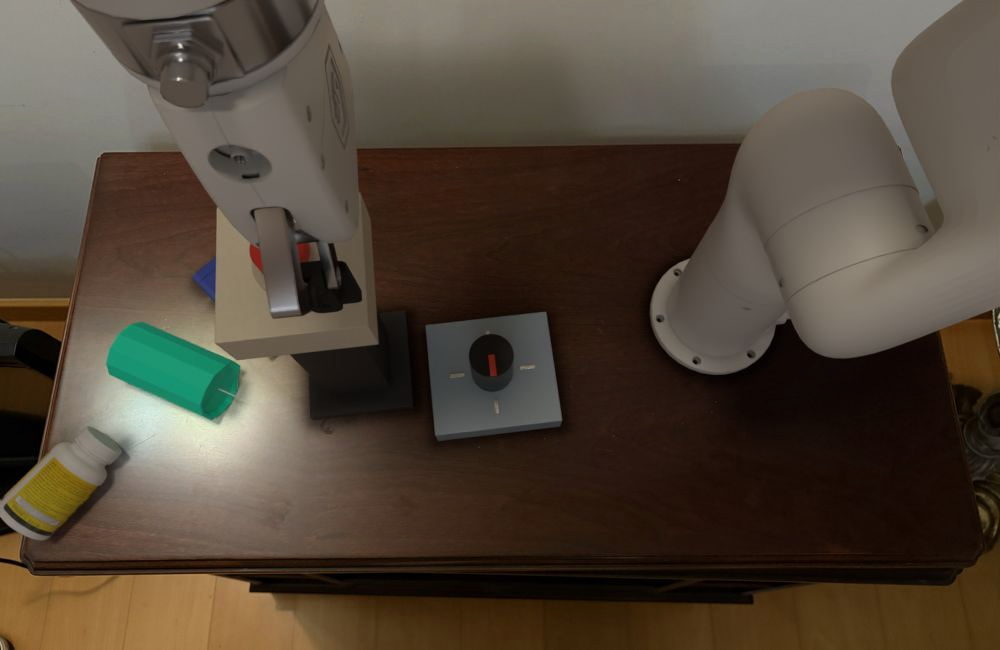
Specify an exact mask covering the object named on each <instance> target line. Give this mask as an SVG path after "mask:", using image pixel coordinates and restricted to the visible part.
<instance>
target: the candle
mask: <svg viewBox="0 0 1000 650" xmlns="http://www.w3.org/2000/svg"><path fill="white" fill-rule="evenodd" d="M105 365H106V369H107V373H108V375H109V376H111V377H114V378H115V379H118V380H120V381H122V382H124V383H127V384H129V385H131V386H134V388H135V387H136V388H138V389H140V390H142V391H144V392H147V393H149V394H151V395H154V396H156V397H157V398H160V399H163V400H165V401H166V402H168V403H171V404H173V405H175V406H178V407H180V408H183V409H185V410H187V411H189V412H191V413H193V414H195V415H198V416H200V417H203V418H205V419H207V420H210V421H214V420H216V419H217V418H219V417H220V416H222V414H223V413H224V412H225V411H226V410H228V408H229V407H230V406H231V405H232V404H233V401H234V399H235V398H236V399H237V398H238V395H237V393H238V390H239V377H240V370H241V367H242V366H241V365H240V364H239V363H237V362H235V361H234V360H232V359H230V358H228V357H225V356H223V355H221V354H218V353H216V352H214V351H211V350H209V349H207V348H205V347H202V346H200V345H198V344H196V343H193V342H191V341H188V340H186V339H184V338H181V337H179V336H177V335H176V334H175V335H174V334H172V333H170V332H168V331H165V330H163V329H161V328H158V327H156V326H154V325H151V324H149V323H147V322H145V321H138V322H134V323H133V322H132V323H130V324H129V325H127V326H126V327H125V328H124V329H123V330H121V331H120V332H119V333H118V334H117V336H116V337H115V339H114V340H113V342H112V344H110V347H109V348H108V353H107V357H106V361H105Z"/></svg>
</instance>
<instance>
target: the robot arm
mask: <svg viewBox="0 0 1000 650" xmlns="http://www.w3.org/2000/svg"><path fill="white" fill-rule="evenodd" d="M325 1H326V0H69V2H70V3H71V4H72V6H74V8H75V9H76V10H77V12H78V13H79V14H80V16H81V17H82V18H83V20H84V21H85V22H86V24H87V25H88V26H89V27H90V28H91V29H92V31H93V32H94V33H95V35H96V36H97V37H98V39H99V40H100V41H101V42H102V43H103V45H104V46H105V47H106V48H107V50H108V51H109V52H110V53H111V55H112V56H113V57H114V59H115V61H117V62H118V64H119V65H120V66H121V67H122V68H123V69H124V70H125V71H126V72H127V73H128V74H129V75H131V76H132V77H134V78H136V79H137V80H138V81H140V82H141V83H142V84H145V85H146V87H147V90H148V91H147V92H148V94H149V97H150V99H151V101H152V103H153V105H154V106H155V108H156V110H157V112H158V114H159V115H160V118H161V120H162V121H163V123H164V125H165V127H166V128H167V130H168V132H169V134H170V136H171V137H172V139H173V140H174V142H175V144H176V146H177V148H178V149H179V151H180V153H181V154H182V155H183V158H184V159H185V160H186V162H187V164H188V165H189V167H190V168H191V170H192V172H193V174H194V175H195V177H196V178H197V179H198V181H199V182H200V184H201V185H202V187H203V188H204V190H205V192H206V193H207V194H208V195H209V197H210V199H211V200H212V201H213V202H214V204H215V205H216V206H217V207H218V208H219V209H220V211H221V212H222V213H223V214H224V216H225V217H226V218H227V219H228V221H229V222H230V223H231V224H232V226H233V227H234V228H235V229H236V230H237V231H238V232H239V233H240V234H241V235H242V236H243V237H244V238H245V239H246V240H247V241H248V242H250V243H251V244H252V245H254V246H255V247H257V248H259V249H260V253H261V260H262V266H263V273H264V279H265V285H266V292H267V298H268V304H269V310H270V314H271V316H272V318H273V319H280V318H289V317H298V316H304V315H306V314H308V313H310V312H312V311H313V312H315V313H332V312H338V311H341V310H342V309H343V304H351V303H358V302H361V301H362V290H361V289H360V287H359V285H358V283H357V281H356V280H355V278H354V276H353V274H352V273H351V271H350V269H349V267H348V265H347V264H346V263H345V262H344V261H338V259H337V255H336V251H335V246H334V243H337V242H343V241H347V240H350V239H351V238H352V236H353V235H354V234H355V232H356V230H357V227H358V223H359V192H360V191H359V189H360V188H359V167H358V166H359V165H358V147H357V128H356V127H357V126H356V111H355V98H354V97H355V96H354V87H353V78H352V74H351V69H350V65H349V62H348V60H347V57H346V54H345V52H344V49H343V46H342V44H341V42H340V39H339V36H338V33H337V31H336V28H335V26H334V23H333V21H332V18H331V16H330V14H329V11H328V9H327V7H326V3H325ZM894 62H895V63H894V64H893V67H892V70H891V76H890V77H891V78H890V88H891V95H892V98H893V101H894V105H895V108H896V111H897V114H898V116H899V119H900V122H901V124H902V126H903V128H904V131H905V134H906V136H907V138H908V140H909V142H910V144H911V147H912V149H913V151H914V154H915V156H916V158H917V160H918V162H919V164H920V166H921V168H922V170H923V173H924V175H925V177H926V180H927V182H928V183H929V186H930V188H931V190H932V192H933V194H934V196H935V200H936V201H937V204H938V206H939V209H940V210H941V212H942V215H943V217H942V218H943V220H942V223H941V226H940V227H939V228H938V229H937V231H936V230H935V228H934V226H933V224H932V222H931V219H930V217H929V215H928V212H927V211H926V208H925V206H924V204H923V201H922V199H921V197H920V192H919V189H918V187H917V185H916V182H915V181H914V178H913V177H912V174H911V171H910V170H909V167H908V165H907V164H906V161H905V158H904V156H903V154H902V152H901V149H900V148H899V145H898V143H897V142H896V139H895V138H894V135H893V134H892V131H891V130H890V128H889V127H888V125H887V124H886V122H885V120H884V119H883V117H882V116H881V114H880V113H879V112H878V111H877V110H876V109H875V107H874V106H872V104H870V103H869V102H868V101H867V100H866V99H864V98H863V97H862V96H860V95H858V94H856V93H854V92H852V91H849V90H846V89H843V88H837V87H819V88H818V87H817V88H812V89H808V90H804V91H801V92H798V93H796V94H793V95H791V96H788V97H787V98H785V99H783V100H781V101H780V102H778V103H777V104H776V105H774V106H772V107H771V108H769V110H767V111H766V112H765V113H764V114H763V115H762V116H760V118H759V119H758V120H756V122H755V123H754V124H753V126H752V127H751V128H750V129H749V131H748V132H747V134H746V136H745V137H744V138H743V140H742V142H741V144H740V146H739V148H738V151H737V152H736V156H735V158H734V161H733V164H732V168H731V172H730V176H729V179H728V185H727V189H726V193H725V196H724V200H723V202H722V204H721V206H720V208H719V210H718V212H717V213H716V215H715V217H714V219H713V221H712V222H711V223H710V225H709V226H708V228H707V230H706V231H705V233H704V235H703V237H702V238H701V240H700V242H699V243H698V245H697V247H696V248H695V250H694V251H693V253H692V255H691V256H690V258H688V259H684V260H683V261H680V262H678V263H676V264H675V265H673V266H672V267H670V268H669V269H668V270H667V271H666V272H665V273H664V274H663V275H662V276H661V278H660V279H659V281H658V282H657V283H656V285H655V288H654V290H653V292H652V295H651V299H650V303H649V319H650V320H649V321H650V326H651V328H652V331H653V334H654V337H655V338H656V340H657V342H658V344H659V345H660V347H661V348H662V349H663V350H664V351H665V353H667V355H668V356H669V357H670V358H672V359H673V360H674V361H676V363H678V364H680V365H681V366H683V367H685V368H687V369H689V370H691V371H695V372H696V373H699V374H705V375H712V376H719V375H729V374H734V373H738V372H740V371H742V370H745V369H746V368H748V367H750V366H752V364H754V363H755V362H757V361H758V360H759V359H760V358H761V357H762V356H763V355H764V354H765V353H766V351H767V350H768V348H770V345H771V343H772V340H773V338H774V336H775V332H776V326H777V325H783V324H785V323H786V322H787V320H790V321H791V323H792V325H793V327H794V330H795V332H796V333H797V335H798V337H799V338H800V340H801V341H802V342H803V343H804V345H806V347H807V348H808V349H810V350H811V351H812V352H814V353H815V354H818V355H820V356H823V357H825V358H832V359H852V358H858V357H864V356H868V355H873V354H876V353H880V352H883V351H887V350H890V349H892V348H896V347H899V346H901V345H903V344H906V343H909V342H913V341H914V340H917V339H920V338H922V337H925V336H927V335H930V334H933V333H936V332H938V331H940V330H943V329H945V328H948V327H951V326H954V325H955V324H958V323H961V322H964V321H966V320H969V319H971V318H974V317H976V316H979V315H982V314H984V313H987V312H990V311H992V310H995V309H997V308H1000V0H961V1H960V2H958V3H957V4H956V5H955V6H953V7H952V8H950V9H949V10H948V11H947V12H945V13H944V14H943V15H942V16H940V17H938V19H936V20H935V21H934V22H932V23H931V24H930V25H928V26H927V27H926V28H925V29H924V30H922V31H921V32H920V33H919V34H917V35H916V36H915V37H914V38H913V39H912V40H911V41H910V42H909V43H908V44H907V45H906V46H905V47H904V48H903V50H902V51H901V52H900V54H899V55H898V57H897V58H896V61H894ZM217 207H216V208H217ZM293 218H294V219H295V221H296V223H294V219H293ZM311 242H316V245H317V249H318V253H319V257H320V260H319V261H310V262H300V259H299V252H298V245H297V244H302V243H311ZM658 320H659V321H660V322H659V321H658ZM748 355H749V356H750V357H749V356H748ZM694 362H696V364H695V363H694Z"/></svg>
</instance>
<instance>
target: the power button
mask: <svg viewBox="0 0 1000 650" xmlns="http://www.w3.org/2000/svg"><path fill="white" fill-rule="evenodd" d="M297 245H298V252H299V259H300V262H308V260H309V257H310V246H309V243H302V244H297ZM249 253H250V257H251V260H252V262H253V263H254V264H255V266H256V267H257V268H258V269H259V271H260V272H261V273H262V274H264V273H263V266H262V260H261V253H260V249H259V248H257V247H255V246H254V245H252V244H251V243H250V247H249Z"/></svg>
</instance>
